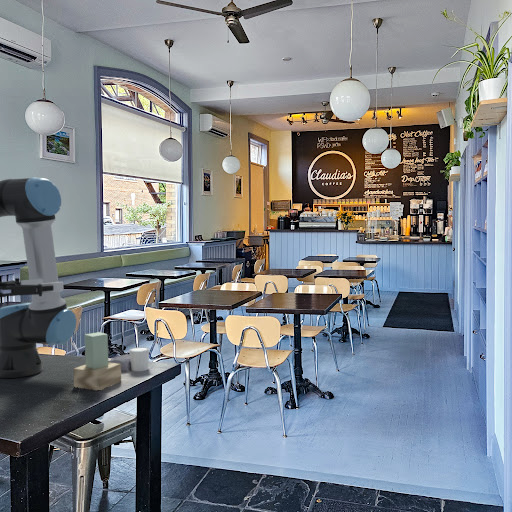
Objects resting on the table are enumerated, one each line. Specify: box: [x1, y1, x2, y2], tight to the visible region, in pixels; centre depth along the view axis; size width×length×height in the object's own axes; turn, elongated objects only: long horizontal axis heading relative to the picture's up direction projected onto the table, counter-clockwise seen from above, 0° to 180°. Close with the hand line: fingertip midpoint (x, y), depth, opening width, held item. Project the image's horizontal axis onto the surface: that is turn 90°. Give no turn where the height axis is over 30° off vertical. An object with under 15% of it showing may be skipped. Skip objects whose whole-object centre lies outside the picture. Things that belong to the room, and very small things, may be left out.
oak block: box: [73, 362, 122, 391], centre depth 169 cm, size 10×10×6 cm
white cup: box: [128, 346, 150, 372], centre depth 186 cm, size 7×7×7 cm
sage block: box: [84, 331, 109, 369], centre depth 168 cm, size 5×5×10 cm
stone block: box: [108, 353, 132, 372], centre depth 190 cm, size 12×5×10 cm
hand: (52, 284), depth 160 cm, fingers open, 13 cm apart
